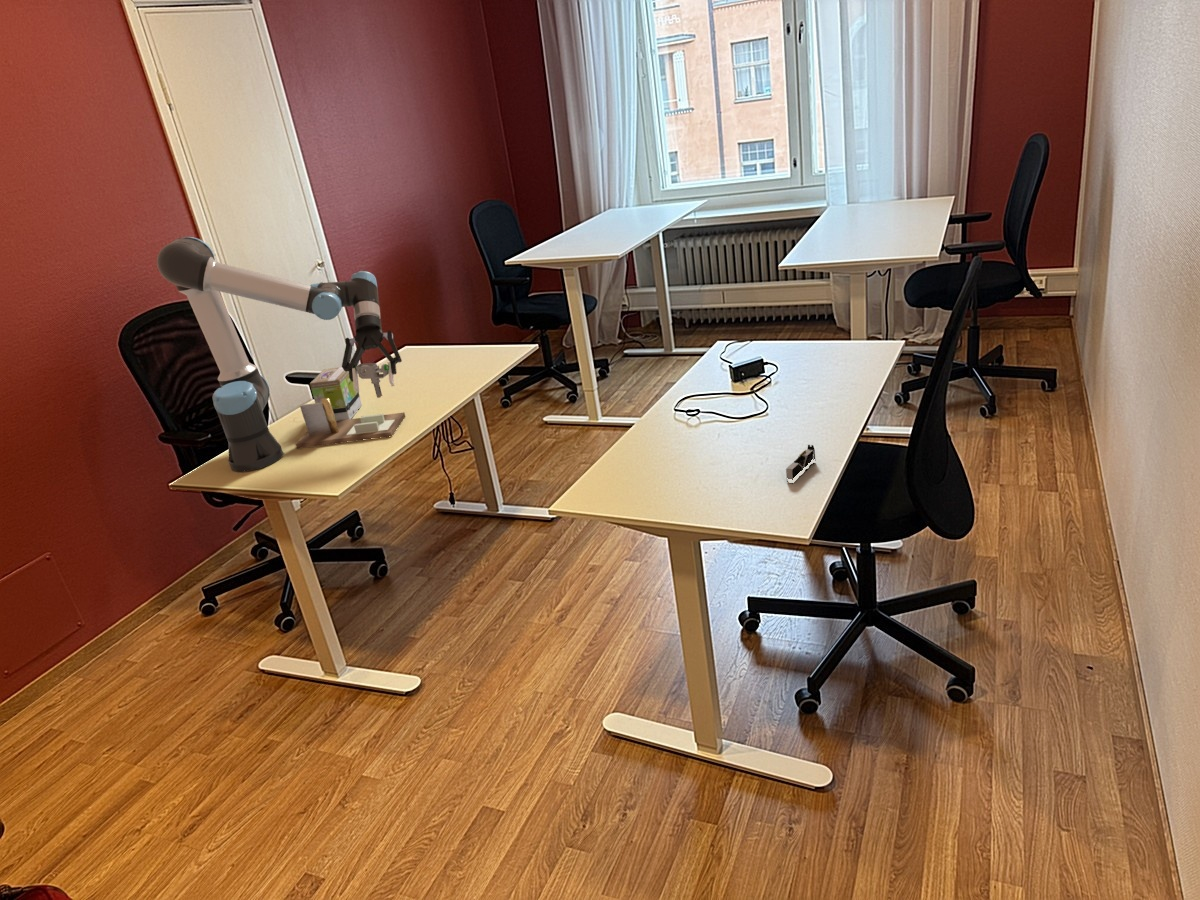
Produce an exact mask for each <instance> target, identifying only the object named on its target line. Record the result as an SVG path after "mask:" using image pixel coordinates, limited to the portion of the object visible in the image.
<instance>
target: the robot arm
mask: <svg viewBox="0 0 1200 900" xmlns="http://www.w3.org/2000/svg"><path fill="white" fill-rule="evenodd" d="M215 259H216V258H215V254H214V251H213V250H212V248H211V247H210V246H209V244H207V243H206V242H205V241H204V240H201V239H200V238H199V237H198V238H196V237H192V236H184V237H179V238H175V239H174V240H173V241H171V242H170V243H167V244H166V245H164V246H163V247H162V248H161V249H160V251H159V252H158V254H157V258H156V266H157V269H158V271H159V273H160V275H161V276H162V278H164V280H166V281H167V282H169V283H171V284H173V285H175V286H176V289H177V291H178V292H179V293H181V294H183V295H185V296H186V297H187V300H188V302H189V304H190V306H191V308H192V311H193V313H194V315H195V318H196V320H197V322H198V324H199V327H200V329H201V331H202V333H203V335H204V338H205V341H206V343H207V345H208V346H209V347H208V348H209V350H210V352H211V355H212V356H213V358H214V361H215V363H216V365H217V368H218V369H219V375H218V377H217V381H218V383H219V386H220V387H218V388H216V390H215V391H213V392H214V393H213V394H212V402H213V406H214V409H215V410H216V413H217V416H218V418H219V422H220V424H221V426H222V429H223V432H224V434H225V437H226V439H227V440H226V441H227V442H228V465H229V466H230V469H231V470H232V471H233V472H238V473H240V472H241V473H242V472H243V473H244V472H245V473H246V472H250V471H256V470H259V469H262V468H265V467H268V466H271V465H272V464H275V463H276V462H277V461H279V460H280V459H281V458H282V457H283V455H284V450H283V447H282V446H281V444H280V443H279V442H278V440H277V439H276V438H275V437H274V436H273V434H272V433H271V431H270V429H269V427H268V424H267V421H266V418H265V414H264V410H265V407H266V405H267V404H268V401H269V400H270V394H271V393H270V385H269V384H268V381H267V380H266V379H265V377H263V376H262V375H261V373H260V371H259V368H258V367H257V365H255V364H253V363H251V362H250V361H249V358H248V356H247V354H246V351H245V348H244V347H243V344H242V342H241V340H240V337H239V335H238V333H237V330H236V328H235V325H234V323H233V320H232V319H231V316H230V314H229V311H228V309H227V306H226V304H225V302H224V300H223V297H222V295H221V293H225V294H229V295H233V296H237V297H240V298H241V297H242V298H245V299H246V298H247V299H249V300H250V299H251V300H254V301H259V302H263V303H268V304H270V305H271V304H272V305H275V306H279V307H284V308H286V309H287V308H288V309H291V310H296V311H300V312H305V313H309V314H312V315H315V316H316V317H317V318H319V319H320V320H324V321H330V320H333V319H335V318H336V317H337V316H339V314H340V312H342V311H341V310H342V308H347V307H353V317H354V326H355V327H354V328H355V336H354V337H352V338H350V337H345V339H344V342H345V348H344V353H343V359H342V362H341V367H342V368H343V369H344V371H346V372H347V371H349V378H350V380H351V381H352V382H353V385H354V390H355V391H356V392H359V393H360V387H359V386H360V385H359V375H358V372H357V371H356V370H355V366H358V365H359V364H360V363H359V362H360V360H362V357H363V354H364V353H365V352H366V351H368V350H371V349H377V348H378V349H379V351H381V353H382V354H383V356H384V357H385V358H386V359H387V360H388V361H389V362H386V364H387V365H389V370H388V373H389V374H388V380H389V381H388V382H389V384H390V385H391V387H395V379H394V376H395V375H397V364H398V363H401V362H402V361H403V360H402V357H401V354H400V353H399V351H398V348H397V346H396V343H395V341H394V334H393V331H392V330H388V331H387V332H383V329H382V328H383V327H382V320H381V307H380V300H379V289H378V282H377V278H376V276H375V274H373V273H372V272H369V271H366V270H360V271H358V272H355V273H352V275H351V276H350V280H347V281H346V280H344V281H330V282H323V281H322V282H318V283H312V284H310V285H308V284H304V283H301V282H298V281H297V282H296V281H294V280H293V281H292V280H289V279H284V278H281V277H277V276H272V275H268V274H265V273H261V272H257V271H253V270H249V269H245V268H241V267H237V266H235V265H229V264H226V263H221V262H217V261H216V260H215ZM384 339H386V340H387V341H388V343H389V345H390V347H391V350H392V352H393V355H394V357H393V356H392V355H391V354H390V352H389V351H388V350H387V349H386V347H385V346H384V345H383V344H382V341H383V340H384ZM355 343H357V345H356V348H355V349H356V350H355V352H354V354H353V347H354V346H355ZM352 354H353V356H352Z"/></svg>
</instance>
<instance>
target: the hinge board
mask: <svg viewBox="0 0 1200 900" xmlns="http://www.w3.org/2000/svg"><path fill="white" fill-rule="evenodd" d="M299 408H300V411H301V414H302V417H303V419H304V420H303V421H304V423H305V426H306V429H307V431H306V432H305V433H304V434H303V436H301V438H299V440H297V442H296V443H295V446H296V449H304V448H305V449H306V448H311V447H312V448H313V447H319V446H328V444H330V445H336V444H335V443H338V444H342V443H341V442H346V443H348V442H347V441H354V442H357V441H356V440H362V441H364V440H363V439H370V440H372V439H371V438H378V439H381V438H380V437H386V438H390V437H389V436H392V435H393V436H394V434H395V433H396V432H395V431H397V430H398V429H399V427H400V426H401V424H402V423H403V422H404V420H405V418H406V414H405V412H404V411H403V412H397V413H395V412H394V413H390V414H389V413H388V414H384V413H378V414H377V413H376V414H370V415H363V416H361V417H358V418H352V419H348V420H340V421H336V419H335V416H334V413H333V409H332V406H331V403H330V400H329V398H324V399H322V400H321V403H315V402H314V403H313V402H312V403H307V404H300V405H299ZM403 419H404V420H403ZM401 422H402V423H401ZM399 425H400V426H399ZM397 428H398V429H397ZM396 429H397V430H396ZM394 432H395V433H394ZM393 436H392V437H393Z"/></svg>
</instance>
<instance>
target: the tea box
mask: <svg viewBox="0 0 1200 900" xmlns="http://www.w3.org/2000/svg"><path fill="white" fill-rule="evenodd" d="M309 387H310V390H311V393H312V396H313V400H314V403H321V400H322V399H324V398H329V400H330V403H331V406H332V409H333V413H334V416H335V419H336V421H340V420H348V419H353V417H354V416H355V414H356V413H357V412H358V411H359V410H360V409H361V407H362V406H363V403H362V400H361V396H360V391H359V392H356V391H355V390H354V385H353V382H352V381H351V380H350V378H349V371H347V372H346V371H344V369H343V368H342V366H340V367H332V368H326V369H323V370H321V371H320V372H319V374H317V376H316V377H314V379H313V380H311V382H310V383H309ZM361 405H362V406H361ZM360 406H361V407H360ZM358 409H359V410H358Z"/></svg>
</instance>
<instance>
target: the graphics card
mask: <svg viewBox="0 0 1200 900" xmlns="http://www.w3.org/2000/svg"><path fill="white" fill-rule="evenodd" d="M812 459H813V460H814V459H815V460H816V450H815V447H814V445H813V444H811V445H810V444H807V448H806V449H805V450H803V451H802V452H801V453H800V454H799V456H798V457H797V458H796V459H795V460H794V461H793V462H792V463H790V464H789V465H788V466H787V467H786V469H785V474H786V479H787V478H788V479H792V480H793V478H794V477H795V476H796V475H797V474H798V473H799V472H800V471H802V470H803V468H804V467H806V466H807V465H808V463H810V462H811V460H812Z"/></svg>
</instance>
